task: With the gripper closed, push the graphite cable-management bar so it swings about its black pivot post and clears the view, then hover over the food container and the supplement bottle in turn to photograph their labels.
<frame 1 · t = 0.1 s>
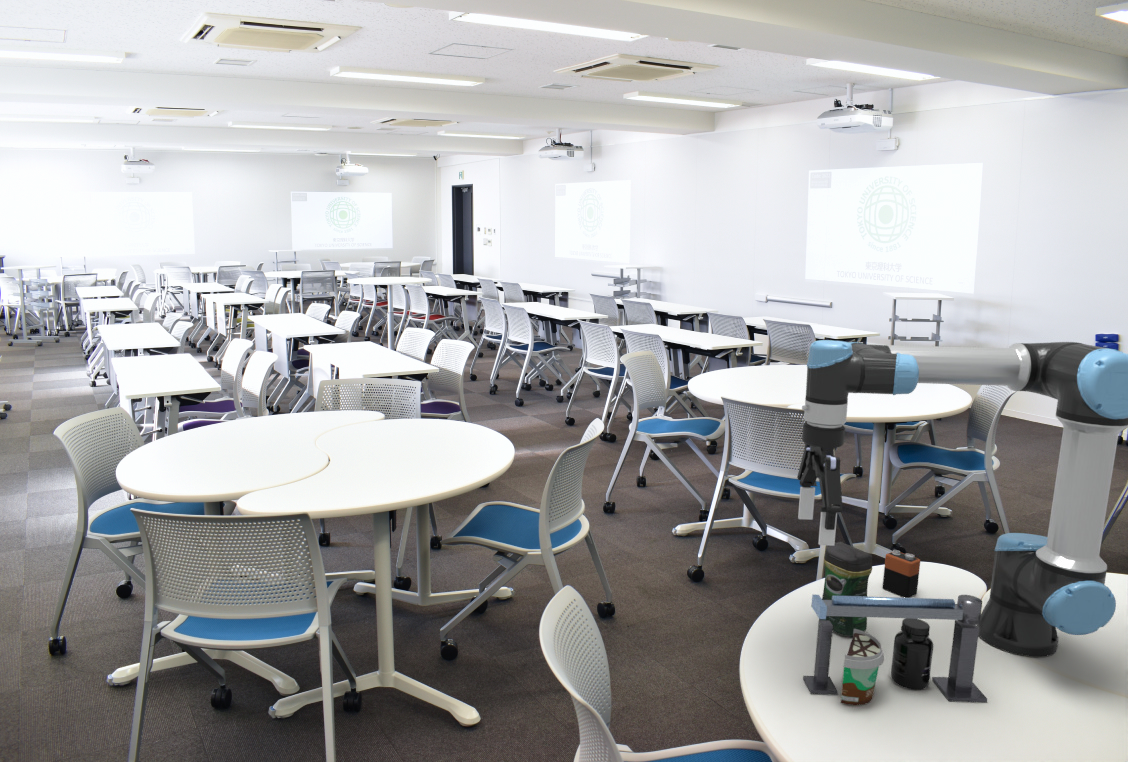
hand: (815, 531, 151), 28 cm above the table, fingers open, 13 cm apart
cable arm: (897, 607, 146), point 17 cm above the table, hinge at 0.0°
pivot post: (958, 691, 148), on the table
supplement bottle: (909, 682, 151), on the table
food container: (861, 696, 146), on the table
coffee jar: (842, 628, 172), on the table
battery: (899, 592, 191), on the table
rest post: (820, 687, 149), on the table
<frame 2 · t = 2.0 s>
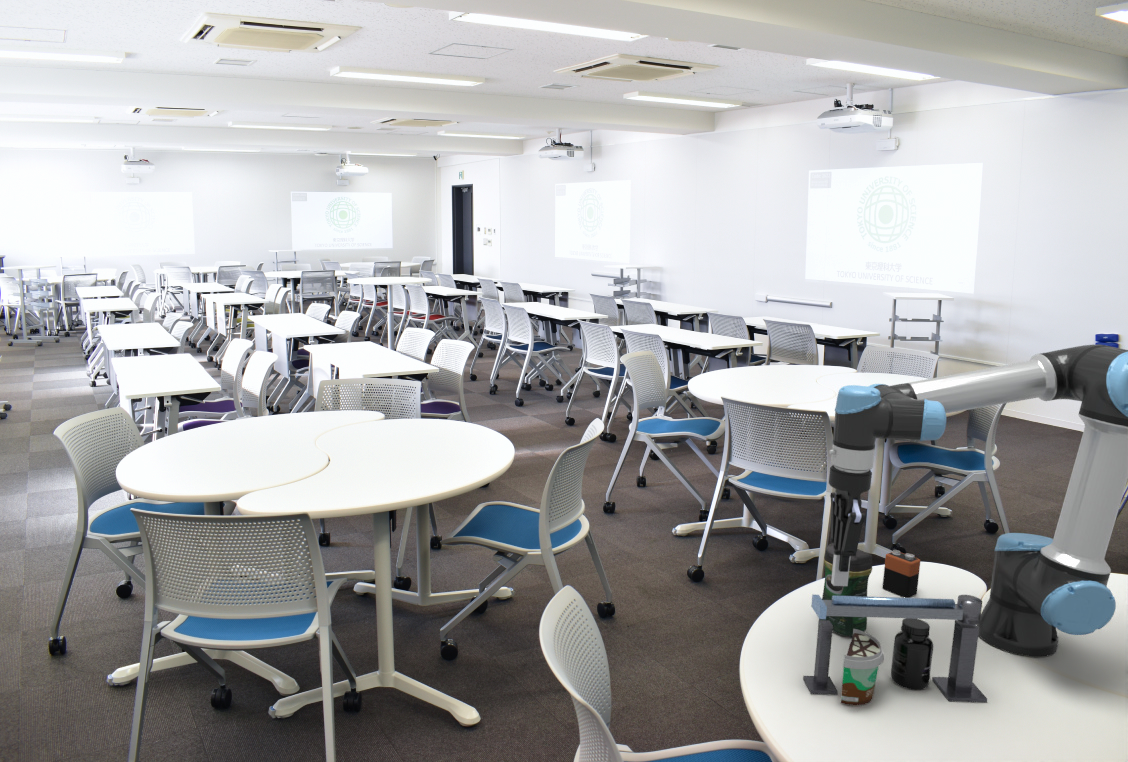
hand: (839, 584, 153), 17 cm above the table, fingers closed
nothing on the table moved.
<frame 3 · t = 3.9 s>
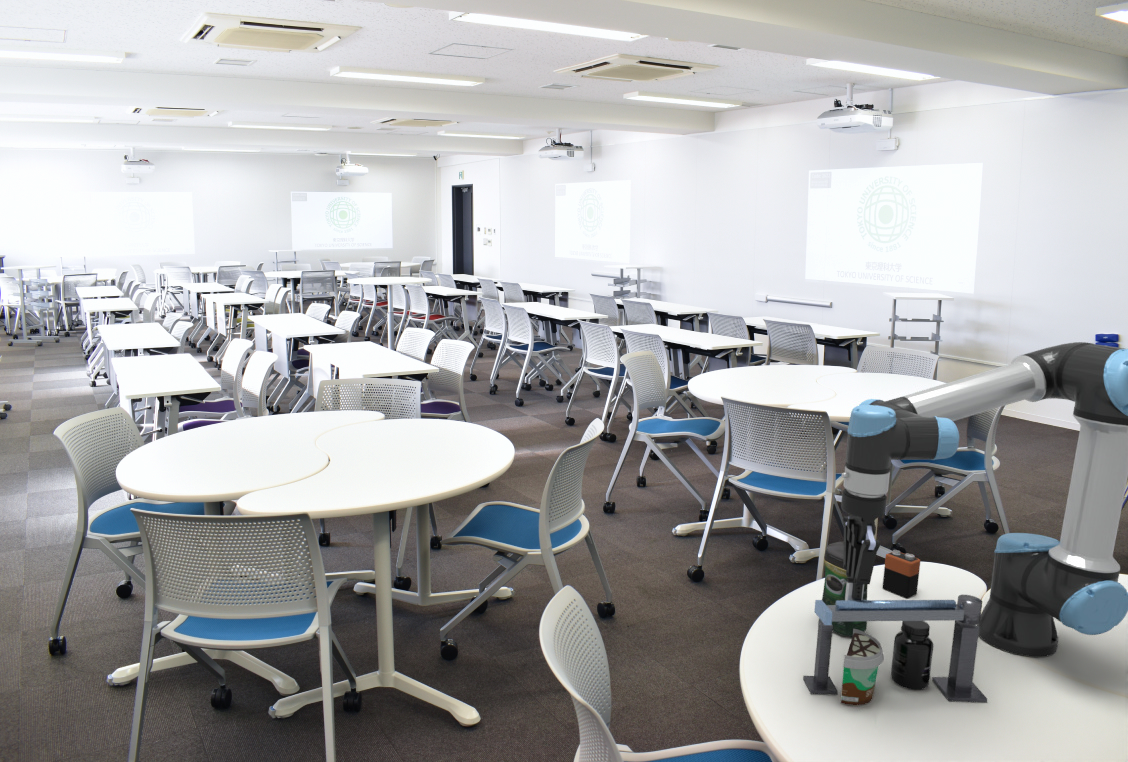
hand: (852, 612, 146), 15 cm above the table, fingers closed
cable arm: (900, 610, 144), point 17 cm above the table, hinge at 4.8°, touching gripper
everything else where it was.
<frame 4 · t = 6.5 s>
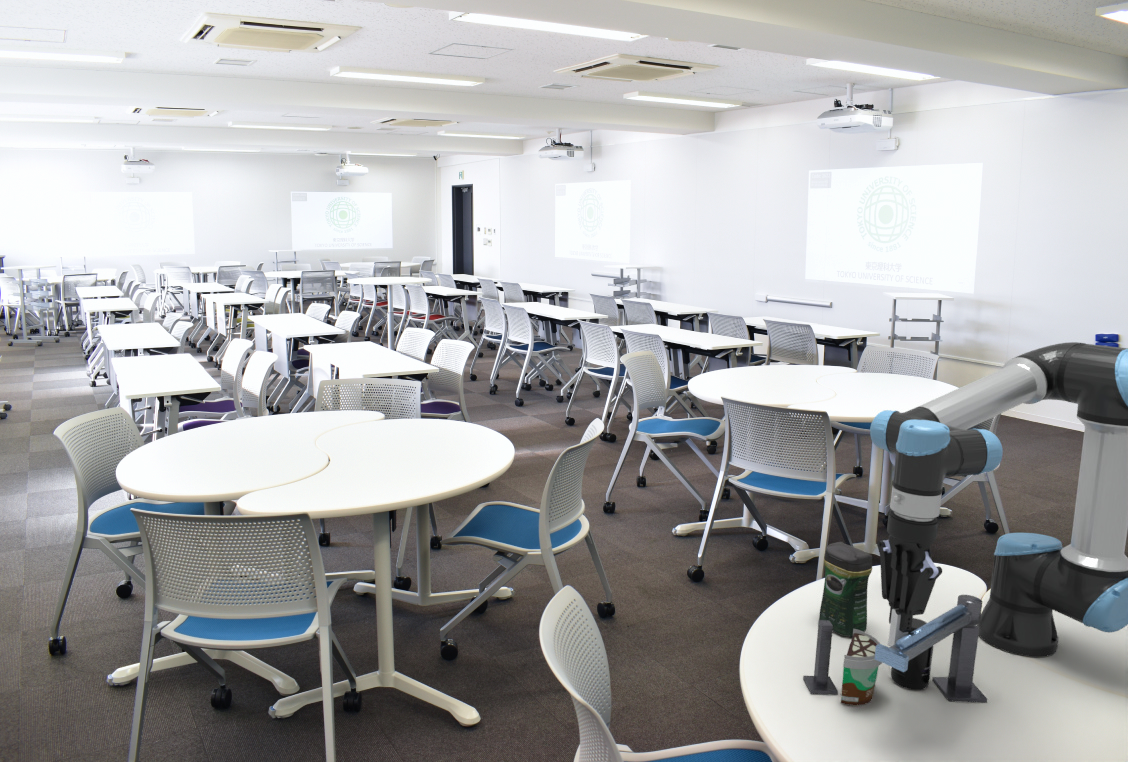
hand: (897, 645, 134), 15 cm above the table, fingers closed
cable arm: (934, 630, 137), point 17 cm above the table, hinge at 40.1°, touching gripper
everything else where it was.
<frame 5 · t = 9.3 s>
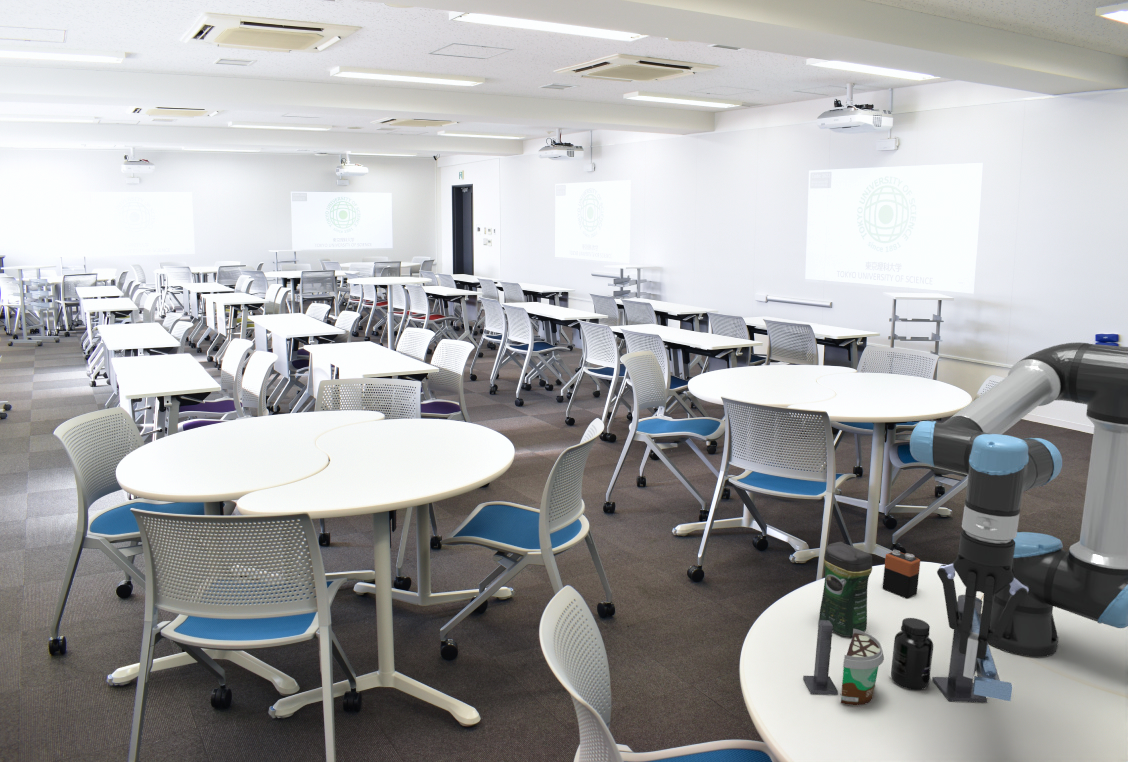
hand: (969, 673, 126), 15 cm above the table, fingers closed
cable arm: (978, 642, 133), point 17 cm above the table, hinge at 70.9°, touching gripper
everything else where it was.
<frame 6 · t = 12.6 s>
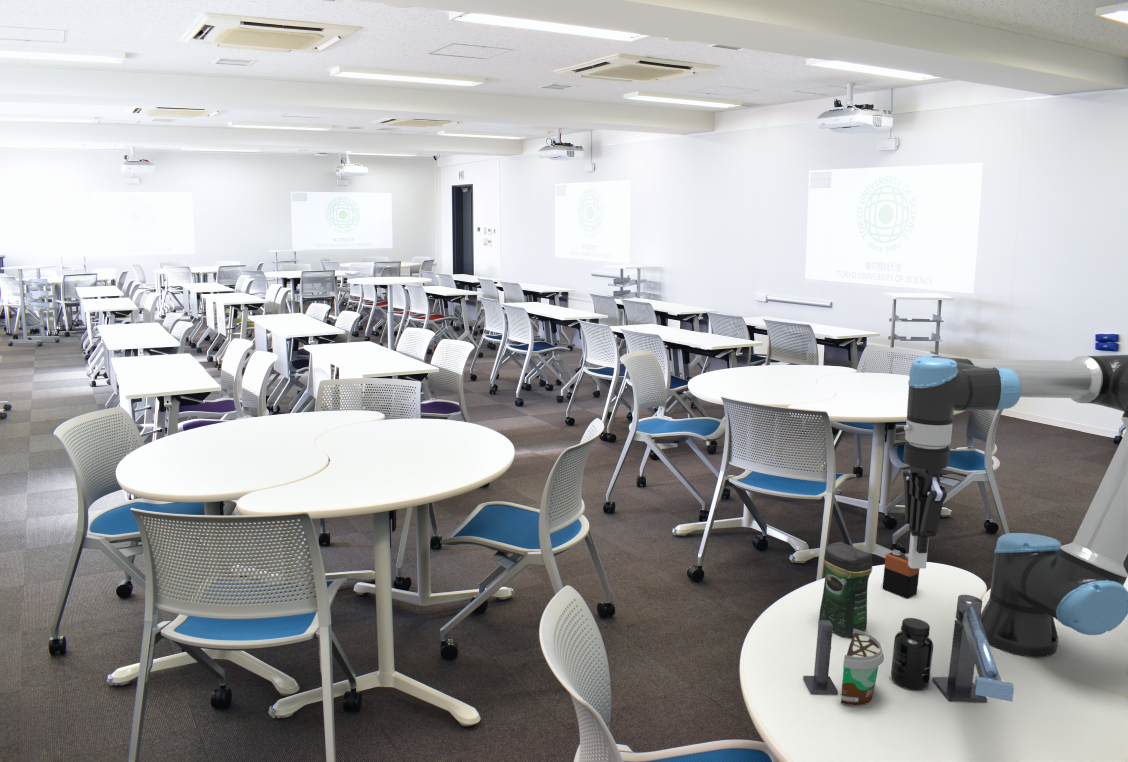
hand: (916, 566, 146), 24 cm above the table, fingers closed
cable arm: (979, 642, 133), point 17 cm above the table, hinge at 71.3°
everything else where it was.
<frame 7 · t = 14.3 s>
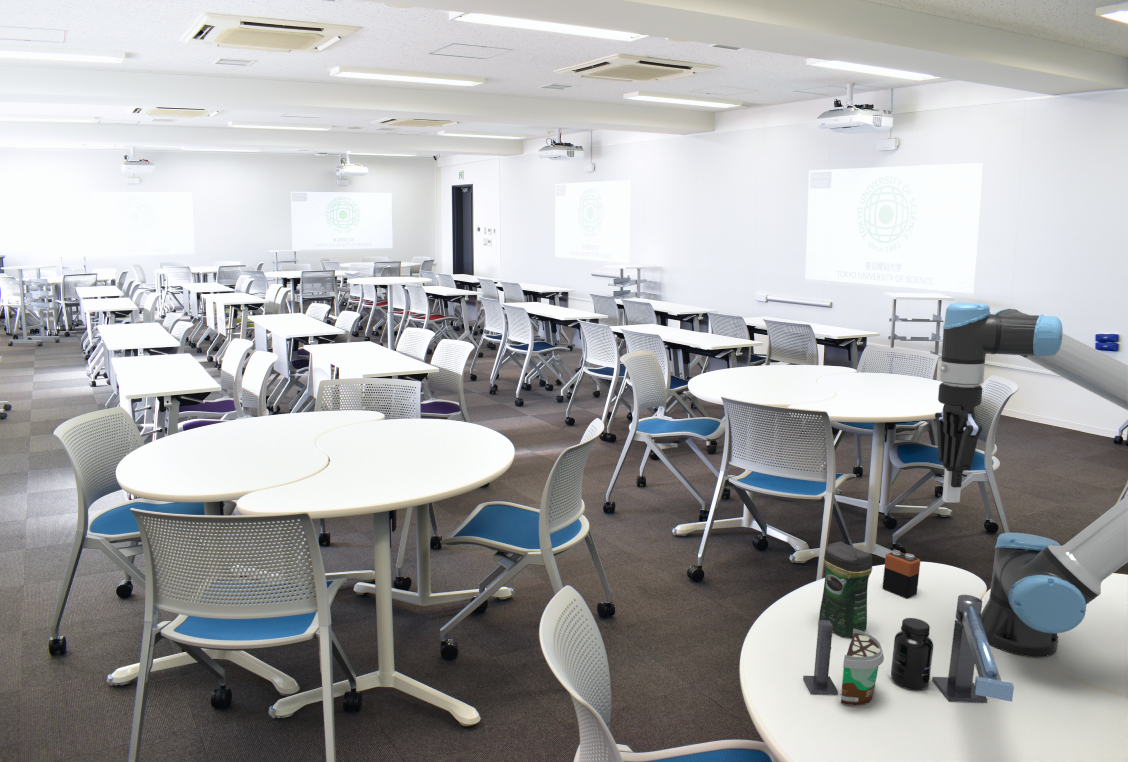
hand: (950, 501, 156), 33 cm above the table, fingers closed
nothing on the table moved.
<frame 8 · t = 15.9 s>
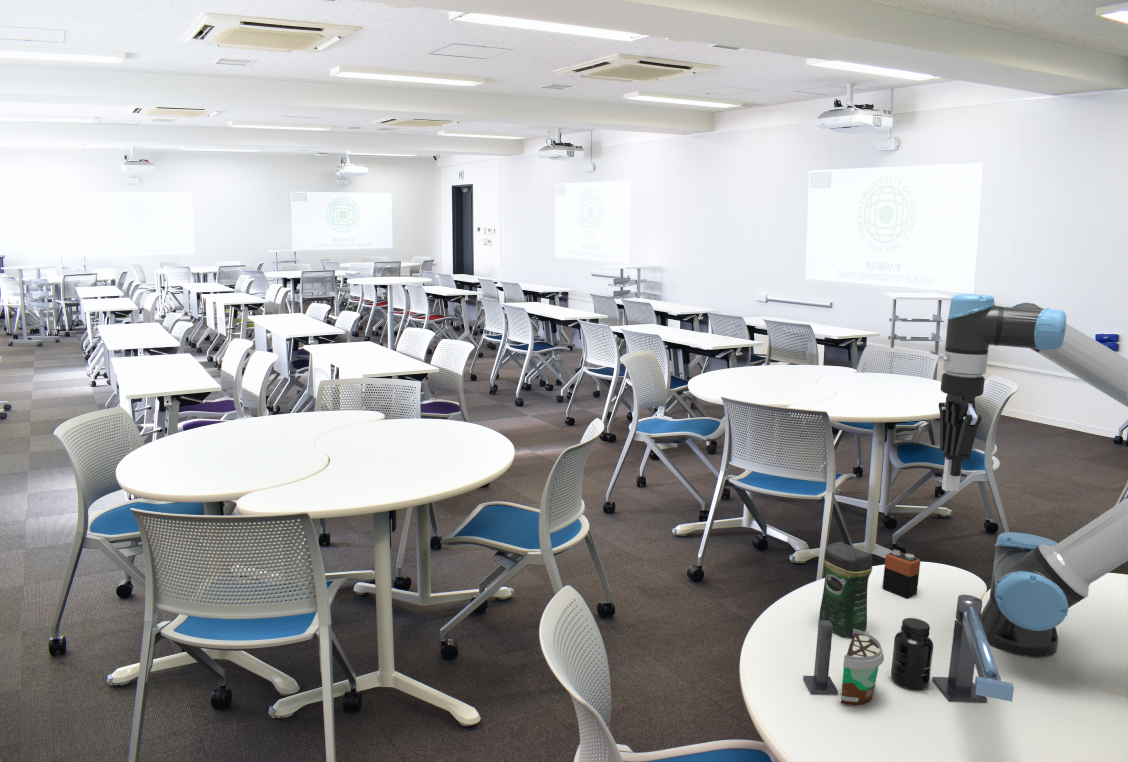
hand: (950, 489, 158), 34 cm above the table, fingers closed
nothing on the table moved.
at the end: cable arm at +71° (first picture: +0°); supplement bottle tilted 0°; food container tilted 0° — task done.
